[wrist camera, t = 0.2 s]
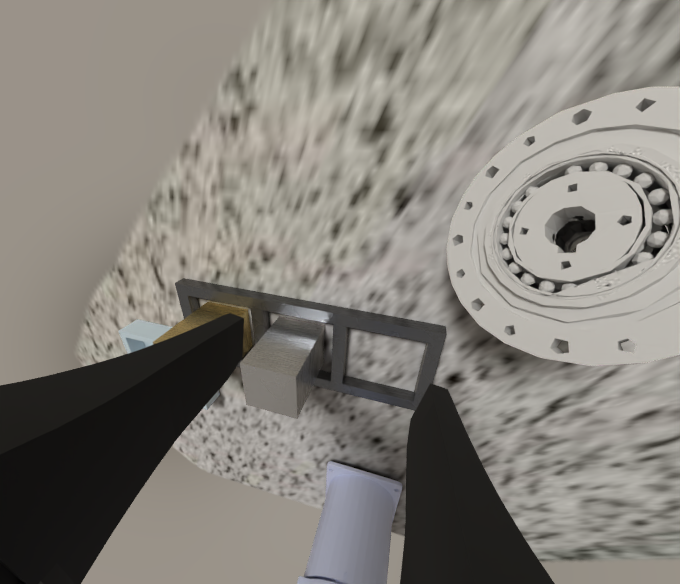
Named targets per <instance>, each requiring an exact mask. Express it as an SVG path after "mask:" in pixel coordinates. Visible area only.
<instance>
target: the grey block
mask: <svg viewBox="0 0 680 584" xmlns="http://www.w3.org/2000/svg"><path fill="white" fill-rule="evenodd" d="M324 340H325V325H322V324H317V323H312V322H307V321H302V320H297V319H292V318H287V317H282V316H279V318H278V319H277V320H276V321H275V322H274V323H273V325H272V326H271V327H270V328H269V329H268V331H267V332H266V333H265V334H264V335H263V336H262V338H261V339H260V340H259V341H258V342H257V344H256V345H255V346H254V347H253V348H252V349H251V351H250V352H249V353H248V354H247V355H246V357H245V358H244V359H243V360H242V361H241V362H240V368H241V374H242V380H243V386H244V392H245V399H246V405H250V406H253V407H257V408H261V409H264V410H268V411H271V412H275V413H279V414H282V415H286V416H289V417H293V418H296V419H298V417H299V414H300V412H301V410H302V408H303V406H304V404H305V402H306V399H307V397H308V395H309V393H310V391H311V389H312V386H313V384H314V382H315V380H316V378H317V376H318V374H319V371H320V369H321V367H322V365H323V363H324Z"/></svg>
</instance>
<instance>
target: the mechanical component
mask: <svg viewBox="0 0 680 584" xmlns="http://www.w3.org/2000/svg"><path fill="white" fill-rule="evenodd" d="M665 225H666V226H667V227H668V231H669V233H668V231H667V229H666V227H665ZM582 240H585V241H583V242H581V241H582ZM580 242H581V243H580ZM576 246H577V247H576ZM575 247H576V252H575V253H570V252H571V251H572V250H573V249H574V248H575ZM669 247H670V248H669ZM446 249H447V267H448V271H449V275H450V279H451V283H452V285H453V288H454V290H455V292H456V294H457V296H458V298H459V300H460V302H461V304H462V305H463V306H464V307H465V309H466V310H467V311H468V312H469V313H470V315H471V316H472V317H473V318H474V320H475V321H476V322H477V323H478V324H479V325H480V326H481V327H482V328H484V329H485V330H487V331H488V332H490V333H491V334H492V335H494V336H495V337H497V338H498V339H499V340H501V341H502V342H504V343H505V344H508V345H510V346H513V347H515V348H517V349H520V350H522V351H525V352H527V353H529V354H532V355H534V356H537V357H539V358H544V359H550V360H556V361H563V362H569V363H575V364H581V365H587V366H606V365H625V364H639V363H648V362H652V361H656V360H661V359H665V358H669V357H673V356H678V355H680V87H648V88H642V89H636V90H630V91H624V92H619V93H614V94H611V95H608V96H605V97H602V98H599V99H596V100H593V101H590V102H587V103H584V104H581V105H578V106H575V107H572V108H569V109H566V110H563V111H560V112H559V113H557V114H555V115H553V116H552V117H550V118H548V119H547V120H545V121H543V122H542V123H540V124H538V125H537V126H535V127H533V128H531V129H530V130H528V131H526V132H525V133H523V134H521V135H520V136H518V137H517V138H516V139H514V140H513V141H512V142H511V143H510V144H508V145H507V146H506V147H505V148H503V149H502V150H501V151H500V152H499V153H497V154H496V155H495V156H494V157H493V158H492V159H491V160H490V161H489V162H488V163H487V165H486V166H485V167H484V168H483V169H482V170H481V171H480V172H479V173H478V174H477V175H476V177H475V178H474V180H473V181H472V183H471V184H470V186H469V187H468V189H467V190H466V192H465V193H464V194H463V197H462V199H461V201H460V203H459V205H458V207H457V209H456V212H455V214H454V216H453V218H452V221H451V226H450V231H449V237H448V242H447V247H446ZM483 303H484V304H485V305H484V306H483V307H482V308H481V304H483ZM514 329H515V332H514ZM561 340H565V341H568V346H569V353H564V352H563V351H562V350H560V349H559V348H558V345H559V343H560V342H561ZM628 340H630V341H632V342H634V343H635V344H636V346H635V350H634V353H631V352H626V351H623V349H622V347H621V344H620V343H623V342H625V341H628Z"/></svg>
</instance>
